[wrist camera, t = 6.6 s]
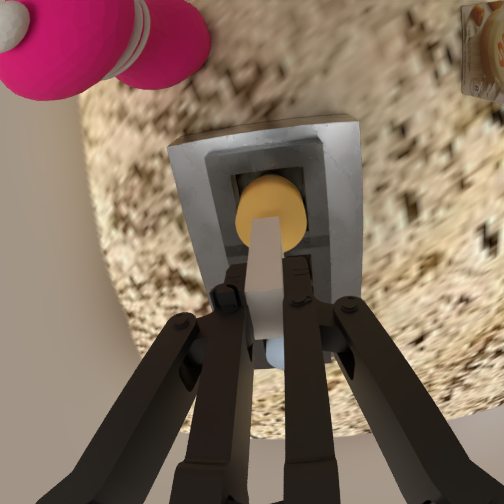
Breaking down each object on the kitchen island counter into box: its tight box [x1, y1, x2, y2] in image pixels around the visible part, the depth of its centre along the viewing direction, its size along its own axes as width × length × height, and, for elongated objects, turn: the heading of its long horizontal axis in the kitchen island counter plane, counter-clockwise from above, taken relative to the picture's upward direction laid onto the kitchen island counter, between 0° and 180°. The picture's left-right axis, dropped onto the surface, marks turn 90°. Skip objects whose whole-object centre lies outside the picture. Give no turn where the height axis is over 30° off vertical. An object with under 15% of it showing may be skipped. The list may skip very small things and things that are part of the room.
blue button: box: [266, 337, 284, 370], centre depth 31 cm, size 4×4×7 cm
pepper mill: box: [0, 0, 211, 101], centre depth 13 cm, size 7×7×20 cm
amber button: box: [235, 173, 307, 252], centre depth 23 cm, size 4×4×7 cm
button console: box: [167, 114, 363, 370], centre depth 29 cm, size 24×14×6 cm, turn 9°
